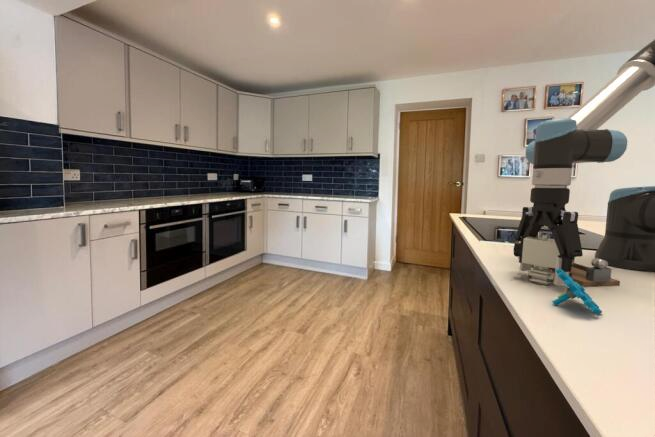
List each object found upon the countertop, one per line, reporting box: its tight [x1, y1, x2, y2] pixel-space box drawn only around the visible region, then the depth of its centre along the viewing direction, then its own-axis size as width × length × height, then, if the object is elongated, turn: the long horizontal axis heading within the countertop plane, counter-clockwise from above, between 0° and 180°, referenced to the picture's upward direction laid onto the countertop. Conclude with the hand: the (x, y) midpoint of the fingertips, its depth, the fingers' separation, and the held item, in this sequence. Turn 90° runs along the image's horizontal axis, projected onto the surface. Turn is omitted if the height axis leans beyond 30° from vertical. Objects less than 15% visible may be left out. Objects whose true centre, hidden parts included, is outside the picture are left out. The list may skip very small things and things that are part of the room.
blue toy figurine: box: [551, 269, 603, 316], centre depth 60 cm, size 11×6×10 cm
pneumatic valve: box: [513, 234, 576, 286], centre depth 74 cm, size 6×12×12 cm, turn 43°
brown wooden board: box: [532, 262, 621, 288], centre depth 81 cm, size 10×19×2 cm, turn 5°
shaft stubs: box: [586, 257, 613, 282], centre depth 81 cm, size 4×19×5 cm, turn 5°
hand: (541, 277), depth 75 cm, fingers closed on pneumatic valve, 10 cm apart
